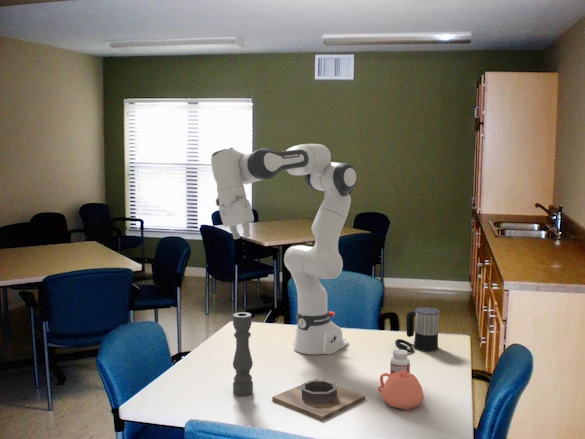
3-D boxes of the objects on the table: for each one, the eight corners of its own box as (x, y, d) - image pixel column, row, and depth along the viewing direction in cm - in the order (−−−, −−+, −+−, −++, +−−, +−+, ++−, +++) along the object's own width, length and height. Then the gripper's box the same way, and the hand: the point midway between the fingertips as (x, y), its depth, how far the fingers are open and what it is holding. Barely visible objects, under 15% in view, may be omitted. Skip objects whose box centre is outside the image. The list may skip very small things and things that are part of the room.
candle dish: (316, 382, 202) (316, 369, 202) (365, 399, 189) (365, 386, 188) (272, 400, 188) (272, 387, 187) (322, 420, 174) (322, 406, 174)
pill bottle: (402, 380, 204) (402, 347, 203) (413, 386, 199) (414, 353, 197) (386, 383, 202) (386, 350, 200) (397, 389, 196) (398, 356, 195)
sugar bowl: (414, 416, 177) (415, 381, 176) (369, 405, 185) (370, 372, 183) (429, 401, 188) (430, 368, 186) (386, 391, 195) (386, 360, 194)
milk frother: (442, 346, 238) (443, 309, 236) (427, 358, 224) (428, 318, 223) (407, 340, 245) (408, 304, 243) (391, 351, 232) (391, 313, 230)
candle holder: (250, 397, 190) (249, 318, 187) (230, 395, 192) (229, 317, 189) (255, 389, 196) (254, 312, 193) (236, 388, 198) (235, 311, 195)
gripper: (253, 191, 195) (262, 234, 195) (230, 198, 213) (240, 237, 214) (234, 195, 192) (244, 239, 193) (213, 201, 211) (223, 241, 211)
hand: (242, 238), depth 203 cm, fingers open, 8 cm apart
